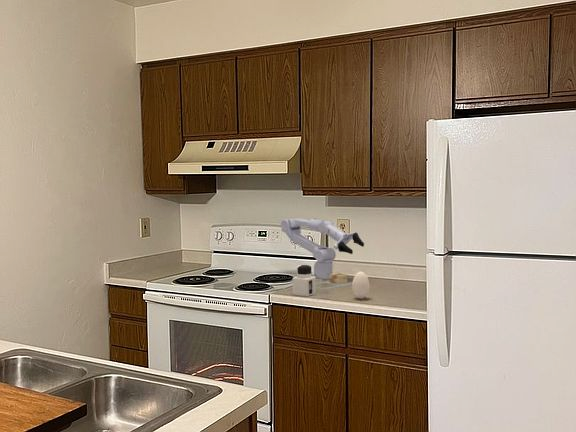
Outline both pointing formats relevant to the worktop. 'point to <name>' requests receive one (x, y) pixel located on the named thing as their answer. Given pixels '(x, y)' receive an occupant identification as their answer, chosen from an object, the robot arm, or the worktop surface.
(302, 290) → the container
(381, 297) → the worktop surface
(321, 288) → the board
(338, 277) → the oak block
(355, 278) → the egg
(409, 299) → the worktop surface
